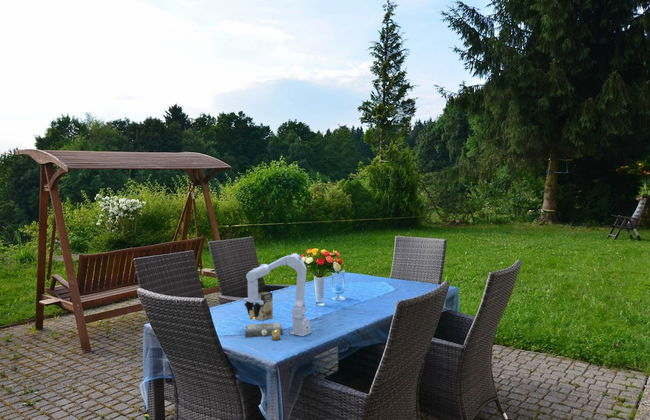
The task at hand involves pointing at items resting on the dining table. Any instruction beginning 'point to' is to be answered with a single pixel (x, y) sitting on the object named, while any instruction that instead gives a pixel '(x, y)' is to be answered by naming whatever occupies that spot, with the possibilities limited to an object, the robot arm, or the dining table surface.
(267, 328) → the scale
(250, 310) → the cylinder
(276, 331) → the cylinder
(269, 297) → the coffee box
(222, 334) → the dining table surface
